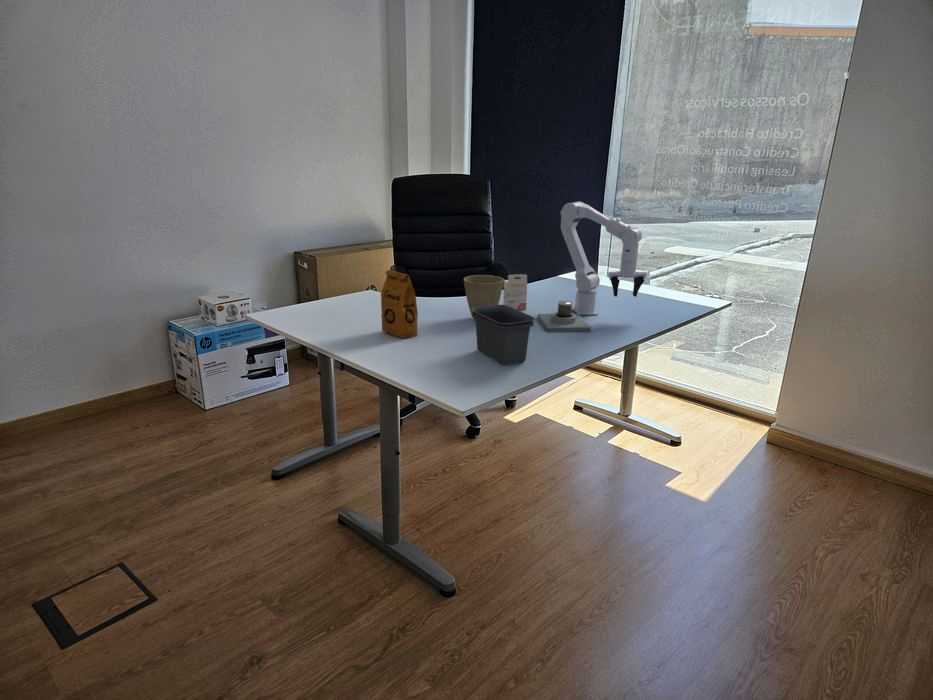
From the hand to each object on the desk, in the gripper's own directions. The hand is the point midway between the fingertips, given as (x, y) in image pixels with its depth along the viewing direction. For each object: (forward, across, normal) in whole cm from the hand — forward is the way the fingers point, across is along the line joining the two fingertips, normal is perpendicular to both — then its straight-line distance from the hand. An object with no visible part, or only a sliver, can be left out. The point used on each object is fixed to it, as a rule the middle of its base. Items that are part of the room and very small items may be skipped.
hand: (624, 296), depth 231 cm
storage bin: (+10, -53, -40) cm, 67 cm away
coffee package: (+10, -86, -17) cm, 88 cm away
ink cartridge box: (+10, -40, +16) cm, 44 cm away
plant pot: (+10, -55, 0) cm, 56 cm away
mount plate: (+9, -25, -6) cm, 27 cm away
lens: (+8, -25, -6) cm, 27 cm away
